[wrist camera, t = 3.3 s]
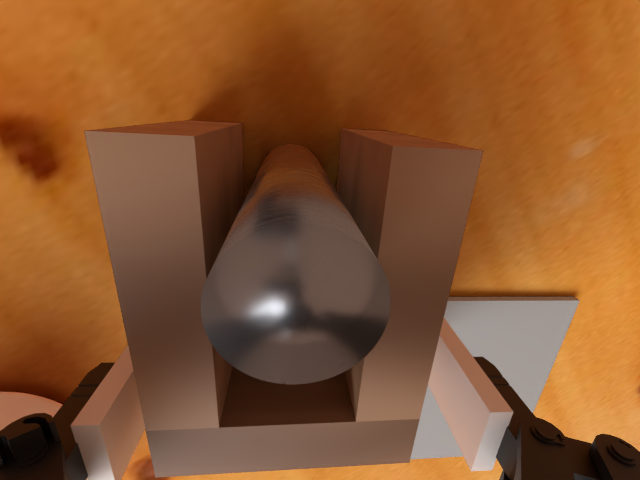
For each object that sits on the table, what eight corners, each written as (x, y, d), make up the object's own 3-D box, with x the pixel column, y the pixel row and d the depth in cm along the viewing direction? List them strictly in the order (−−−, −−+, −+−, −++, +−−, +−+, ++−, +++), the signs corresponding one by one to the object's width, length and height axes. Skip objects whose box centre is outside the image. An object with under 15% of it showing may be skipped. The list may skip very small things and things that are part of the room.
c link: (363, 328, 17) (409, 462, 11) (208, 331, 16) (155, 477, 10) (388, 131, 13) (483, 150, 7) (189, 120, 12) (84, 130, 6)
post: (259, 142, 13) (191, 220, 4) (323, 145, 13) (404, 225, 4) (260, 204, 14) (207, 387, 5) (320, 205, 14) (379, 381, 5)
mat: (396, 296, 16) (398, 301, 16) (573, 296, 18) (579, 300, 17) (369, 455, 21) (371, 461, 21) (512, 447, 22) (516, 453, 22)
